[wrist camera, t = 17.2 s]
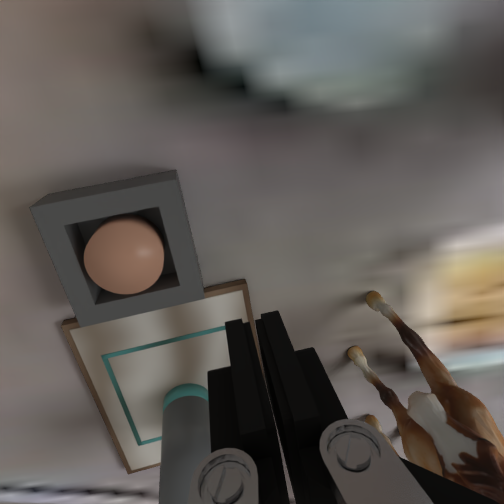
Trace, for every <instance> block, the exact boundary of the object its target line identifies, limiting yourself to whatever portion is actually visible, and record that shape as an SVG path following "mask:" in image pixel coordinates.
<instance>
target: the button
mask: <svg viewBox="0 0 504 504" xmlns="http://www.w3.org/2000/svg"><path fill="white" fill-rule="evenodd" d="M164 251H165V244H164V239H163V236H162V234H161V232H160V231H159V229H158V228H157V227H156V226H155V225H154V224H153V223H152V222H151V221H149V220H148V219H146V218H144V217H141V216H139V215H134V214H119V215H115V216H112V217H110V218H108V219H106V220H105V221H104V222H102V223H101V224H100V225H99V226H98V228H97V229H96V231H95V232H94V234H93V236H92V237H91V239H90V240H89V242H88V244H87V246H86V248H85V252H84V265H85V268H86V271H87V273H88V274H89V276H90V277H91V279H92V280H93V281H94V282H95V283H96V284H97V285H99V286H100V287H101V288H103V289H105V290H107V291H110V292H113V293H117V294H134V293H138V292H141V291H143V290H146V289H147V288H149V287H150V286H152V285H153V284H154V283H155V282H156V281H157V279H158V278H159V276H160V275H161V272H162V269H163V263H164Z"/></svg>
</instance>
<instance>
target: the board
mask: <svg viewBox="0 0 504 504" xmlns="http://www.w3.org/2000/svg"><path fill="white" fill-rule="evenodd" d="M204 294H205V299H202V300H198V301H194V302H189V303H185V304H181V305H176V306H172V307H168V308H163V309H159V310H155V311H151V312H146V313H142V314H138V315H133V316H129V317H125V318H120V319H116V320H112V321H107V322H103V323H99V324H95V325H90V326H86V327H82V328H81V327H80V325H79V323H78V320H77V318H72V319H68V320H64V321H63V323H62V325H61V327H62V330H63V332H64V334H65V336H66V338H67V341H68V343H69V345H70V347H71V349H72V352H73V354H74V356H75V358H76V360H77V363H78V365H79V367H80V369H81V371H82V374H83V376H84V378H85V380H86V382H87V385H88V387H89V389H90V391H91V393H92V396H93V398H94V400H95V402H96V404H97V407H98V409H99V411H100V413H101V415H102V418H103V420H104V422H105V424H106V426H107V429H108V431H109V433H110V435H111V437H112V440H113V442H114V444H115V446H116V449H117V451H118V453H119V455H120V457H121V460H122V462H123V464H124V466H125V468H126V471H127V473H128V474H131V473H134V472H138V471H142V470H145V469H149V468H152V467H156V466H159V465H160V463H161V441H162V419H163V401H164V398H165V396H166V394H167V393H168V392H169V391H170V390H171V389H173V388H174V387H176V386H179V385H182V384H187V383H193V384H198V385H201V386H203V387H205V388H206V389H207V390H208V381H207V372H208V371H210V370H214V369H219V368H223V367H228V366H231V365H230V358H229V351H228V343H227V336H226V329H225V322H227V321H231V320H236V319H241V318H242V321H243V323H245V322H249V321H250V325H251V329H252V333H253V337H254V341H255V345H256V349H257V353H258V357H259V361H260V365H261V369H262V364H261V358H260V353H259V347H258V342H257V336H256V331H255V325H254V320H253V314H252V309H251V303H250V298H249V292H248V287H247V282H246V280H245V279H242V280H238V281H234V282H229V283H225V284H221V285H216V286H212V287H207V288H204ZM262 373H263V369H262ZM263 377H264V375H263ZM264 381H265V380H264Z"/></svg>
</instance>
